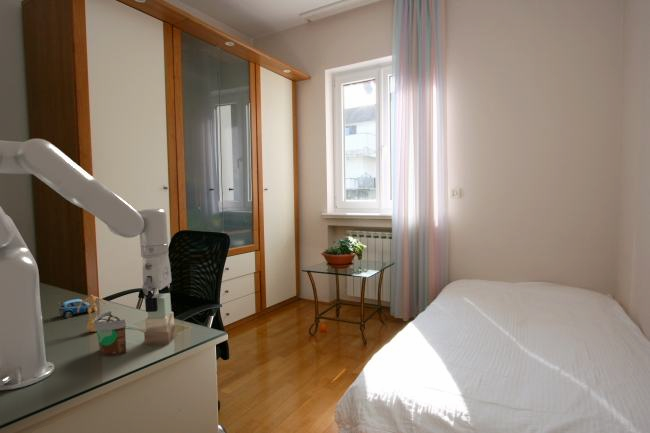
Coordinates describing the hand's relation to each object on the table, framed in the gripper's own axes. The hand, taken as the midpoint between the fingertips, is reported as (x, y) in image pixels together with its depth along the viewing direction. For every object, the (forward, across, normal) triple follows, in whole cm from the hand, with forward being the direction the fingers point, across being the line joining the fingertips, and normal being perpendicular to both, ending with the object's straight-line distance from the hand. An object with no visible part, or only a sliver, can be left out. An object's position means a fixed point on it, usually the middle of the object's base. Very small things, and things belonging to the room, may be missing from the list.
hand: (158, 306), depth 114 cm
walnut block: (+11, 0, 0) cm, 11 cm away
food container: (+11, -7, +12) cm, 18 cm away
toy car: (+11, +30, +42) cm, 53 cm away
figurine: (+11, +11, +26) cm, 30 cm away
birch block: (+7, 0, 0) cm, 7 cm away
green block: (+3, 0, 0) cm, 3 cm away
